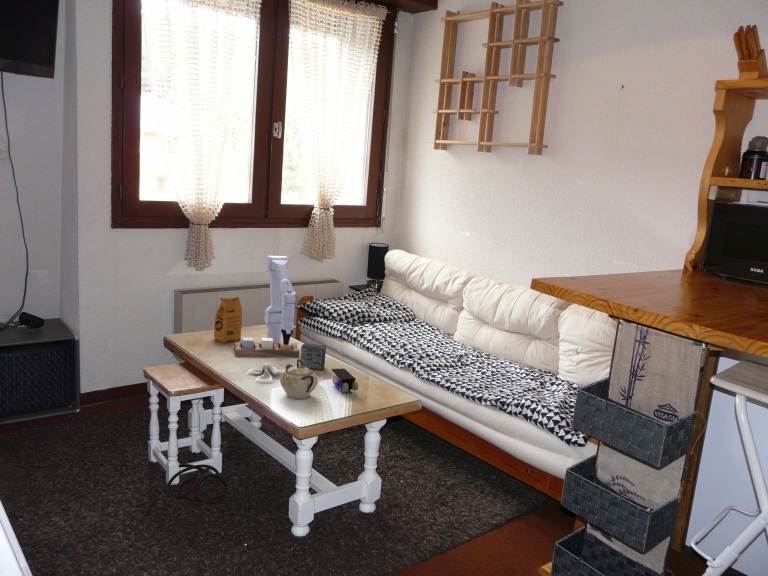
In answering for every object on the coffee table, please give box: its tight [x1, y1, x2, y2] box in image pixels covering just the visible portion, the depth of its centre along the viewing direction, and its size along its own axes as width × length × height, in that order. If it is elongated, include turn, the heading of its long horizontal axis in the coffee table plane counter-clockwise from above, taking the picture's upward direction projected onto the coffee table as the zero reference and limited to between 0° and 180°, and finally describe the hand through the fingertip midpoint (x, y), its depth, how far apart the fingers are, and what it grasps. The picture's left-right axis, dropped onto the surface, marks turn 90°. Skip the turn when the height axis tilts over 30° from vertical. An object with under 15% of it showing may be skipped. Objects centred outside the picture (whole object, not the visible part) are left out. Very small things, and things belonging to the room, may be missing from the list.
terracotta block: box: [280, 342, 292, 349], centre depth 316 cm, size 5×5×4 cm
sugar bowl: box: [279, 358, 319, 400], centre depth 260 cm, size 20×15×15 cm
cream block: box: [260, 337, 273, 349], centre depth 313 cm, size 5×5×4 cm
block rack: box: [233, 341, 301, 358], centre depth 313 cm, size 12×30×3 cm, turn 105°
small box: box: [299, 342, 327, 372], centre depth 297 cm, size 11×6×10 cm, turn 84°
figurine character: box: [331, 368, 359, 396], centre depth 272 cm, size 7×8×15 cm
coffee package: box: [213, 295, 243, 343], centre depth 327 cm, size 10×12×22 cm
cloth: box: [245, 362, 285, 384], centre depth 282 cm, size 22×19×6 cm
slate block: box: [242, 336, 255, 349], centre depth 310 cm, size 5×5×4 cm
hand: (285, 344), depth 315 cm, fingers closed, pressing on terracotta block
